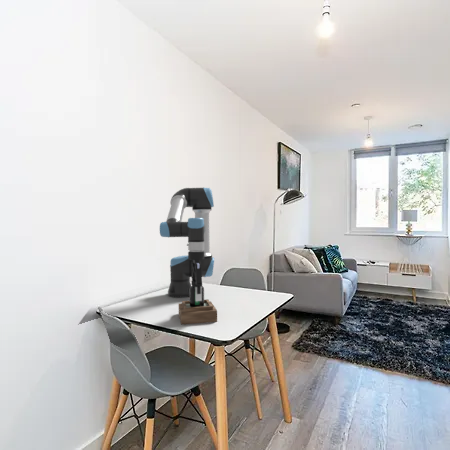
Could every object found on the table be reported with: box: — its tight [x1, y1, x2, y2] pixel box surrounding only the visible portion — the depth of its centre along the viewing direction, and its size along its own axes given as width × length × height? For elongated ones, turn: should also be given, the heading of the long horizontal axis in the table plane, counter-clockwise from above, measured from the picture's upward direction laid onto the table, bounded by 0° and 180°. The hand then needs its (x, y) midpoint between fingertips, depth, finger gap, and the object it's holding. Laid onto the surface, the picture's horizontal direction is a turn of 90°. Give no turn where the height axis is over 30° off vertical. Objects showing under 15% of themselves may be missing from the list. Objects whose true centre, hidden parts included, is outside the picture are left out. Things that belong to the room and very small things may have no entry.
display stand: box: [178, 299, 218, 326], centre depth 148 cm, size 16×16×6 cm
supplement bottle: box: [188, 279, 205, 307], centre depth 148 cm, size 7×7×12 cm
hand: (196, 297), depth 148 cm, fingers open, 11 cm apart
